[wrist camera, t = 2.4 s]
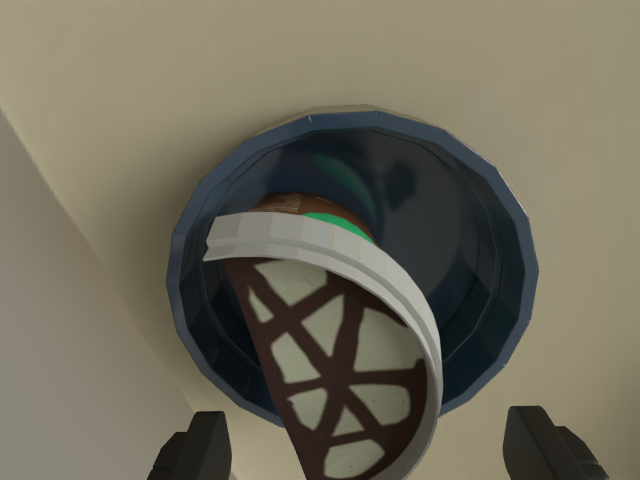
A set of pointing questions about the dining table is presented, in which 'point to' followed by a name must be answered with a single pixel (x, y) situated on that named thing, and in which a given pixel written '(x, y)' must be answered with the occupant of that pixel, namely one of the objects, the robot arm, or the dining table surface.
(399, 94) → the dining table surface
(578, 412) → the dining table surface
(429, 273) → the bowl
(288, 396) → the food container
